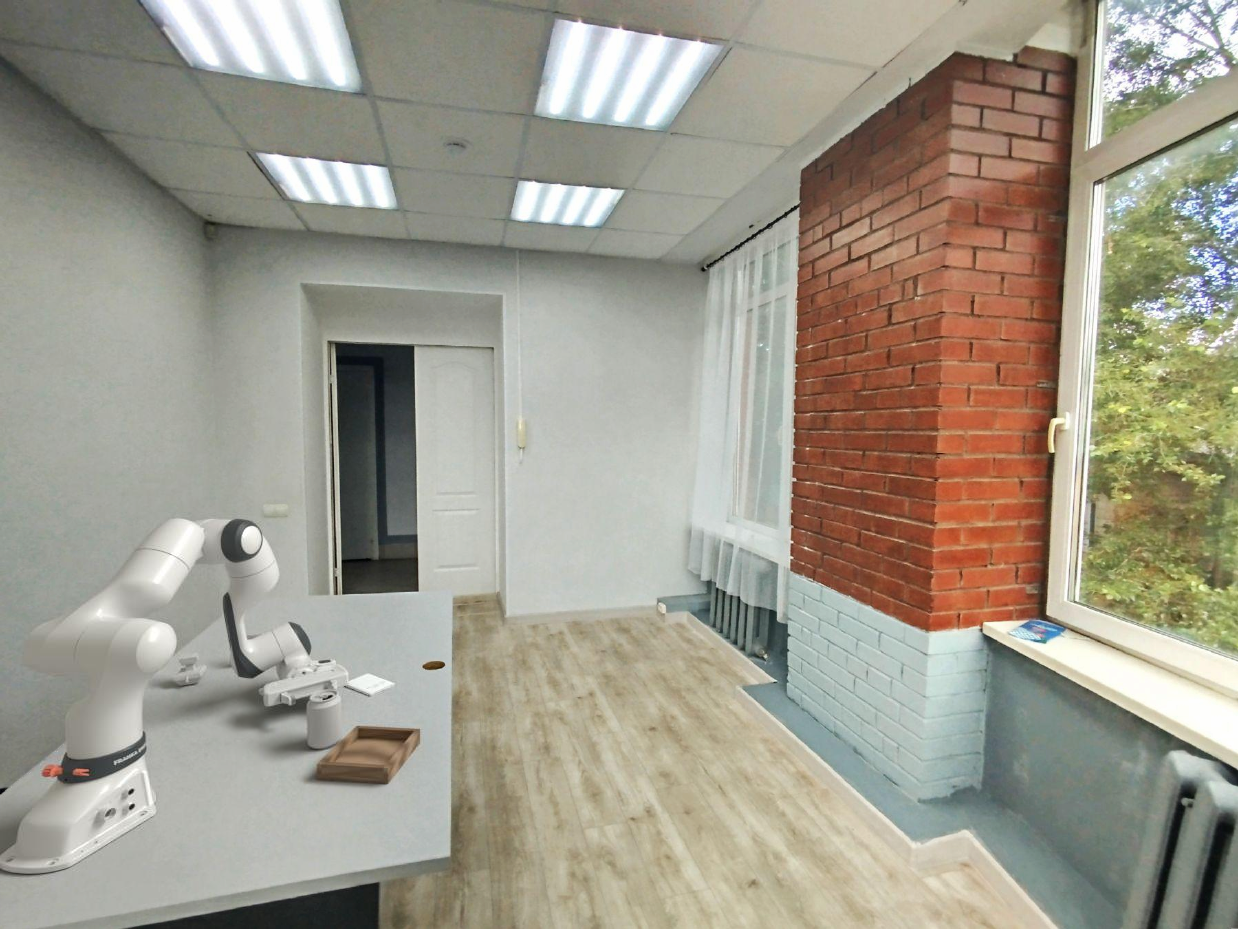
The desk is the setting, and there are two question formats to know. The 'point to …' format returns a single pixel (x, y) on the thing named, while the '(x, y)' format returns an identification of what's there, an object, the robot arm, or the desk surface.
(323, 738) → the can
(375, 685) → the external hard drive
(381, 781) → the tray
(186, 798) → the desk surface
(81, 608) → the robot arm
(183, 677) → the stamp
